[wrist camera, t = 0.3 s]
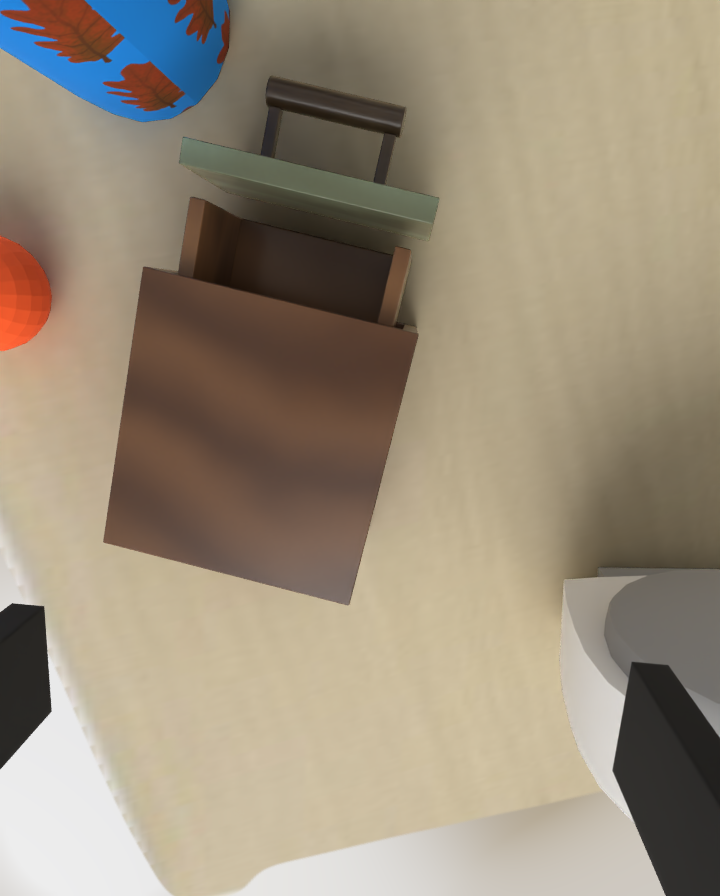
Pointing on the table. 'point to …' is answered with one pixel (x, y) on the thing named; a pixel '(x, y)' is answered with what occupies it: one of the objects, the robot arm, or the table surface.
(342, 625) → the table surface
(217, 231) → the drawer
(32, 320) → the clementine
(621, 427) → the table surface
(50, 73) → the thermos
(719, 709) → the alarm clock
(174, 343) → the cabinet
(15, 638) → the robot arm
